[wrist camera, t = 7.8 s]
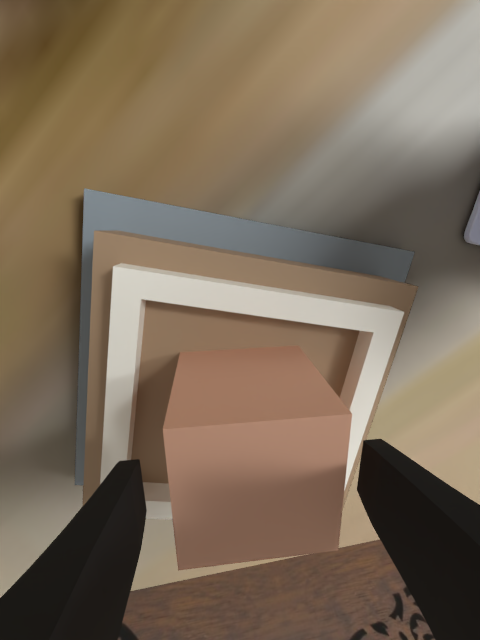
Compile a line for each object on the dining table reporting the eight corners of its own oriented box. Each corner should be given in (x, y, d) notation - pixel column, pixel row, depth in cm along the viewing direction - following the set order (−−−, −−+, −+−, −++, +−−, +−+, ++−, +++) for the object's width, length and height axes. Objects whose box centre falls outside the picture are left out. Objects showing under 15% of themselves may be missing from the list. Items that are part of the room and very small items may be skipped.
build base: (402, 250, 16) (483, 259, 11) (328, 485, 20) (364, 563, 16) (92, 191, 14) (32, 170, 9) (81, 471, 18) (36, 557, 13)
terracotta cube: (298, 345, 13) (352, 414, 8) (294, 443, 14) (337, 550, 9) (179, 352, 12) (162, 429, 8) (188, 452, 14) (178, 570, 9)
